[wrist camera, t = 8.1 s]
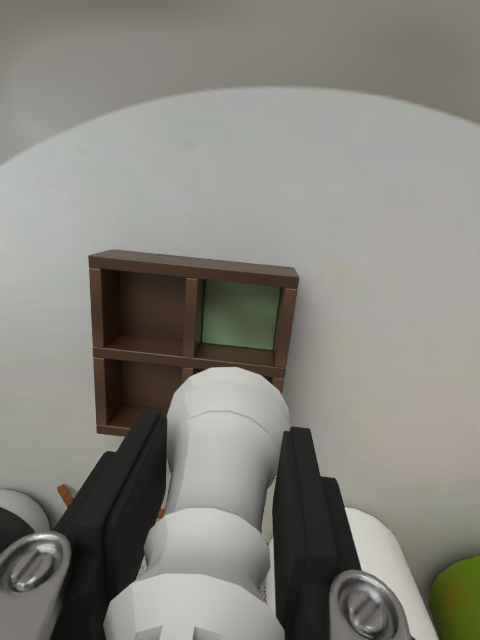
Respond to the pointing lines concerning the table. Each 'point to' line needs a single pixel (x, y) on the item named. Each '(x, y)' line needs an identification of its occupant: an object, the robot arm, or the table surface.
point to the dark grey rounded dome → (19, 517)
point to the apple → (457, 601)
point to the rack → (181, 327)
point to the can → (378, 570)
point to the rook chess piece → (210, 517)
